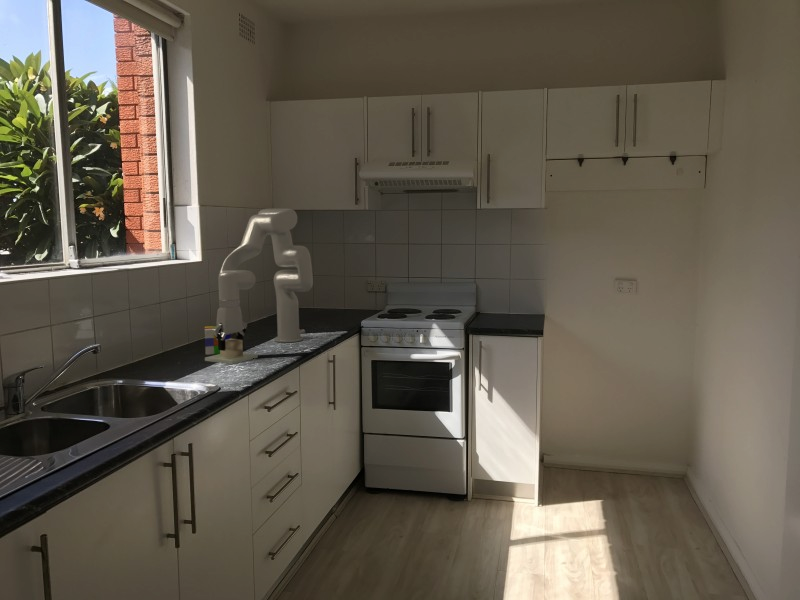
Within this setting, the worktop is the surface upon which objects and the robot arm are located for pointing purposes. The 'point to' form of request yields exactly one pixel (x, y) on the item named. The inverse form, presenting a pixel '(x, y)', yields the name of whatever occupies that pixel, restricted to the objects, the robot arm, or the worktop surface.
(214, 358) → the plate
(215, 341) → the toy
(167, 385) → the worktop surface
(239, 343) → the cube
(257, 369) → the worktop surface
